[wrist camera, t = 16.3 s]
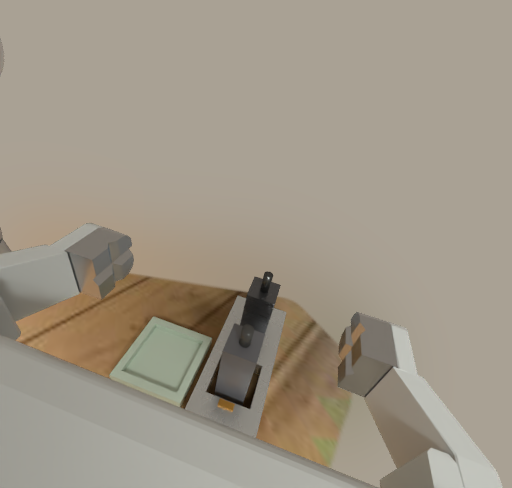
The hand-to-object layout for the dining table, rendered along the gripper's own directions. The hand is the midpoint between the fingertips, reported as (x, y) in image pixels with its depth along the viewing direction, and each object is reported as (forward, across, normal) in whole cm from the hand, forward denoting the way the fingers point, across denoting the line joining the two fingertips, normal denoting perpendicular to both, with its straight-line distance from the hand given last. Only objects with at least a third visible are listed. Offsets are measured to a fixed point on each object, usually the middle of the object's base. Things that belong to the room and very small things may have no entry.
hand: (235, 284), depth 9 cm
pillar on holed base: (+16, 0, +32) cm, 36 cm away
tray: (+12, +10, +32) cm, 36 cm away
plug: (+12, 0, +32) cm, 34 cm away
